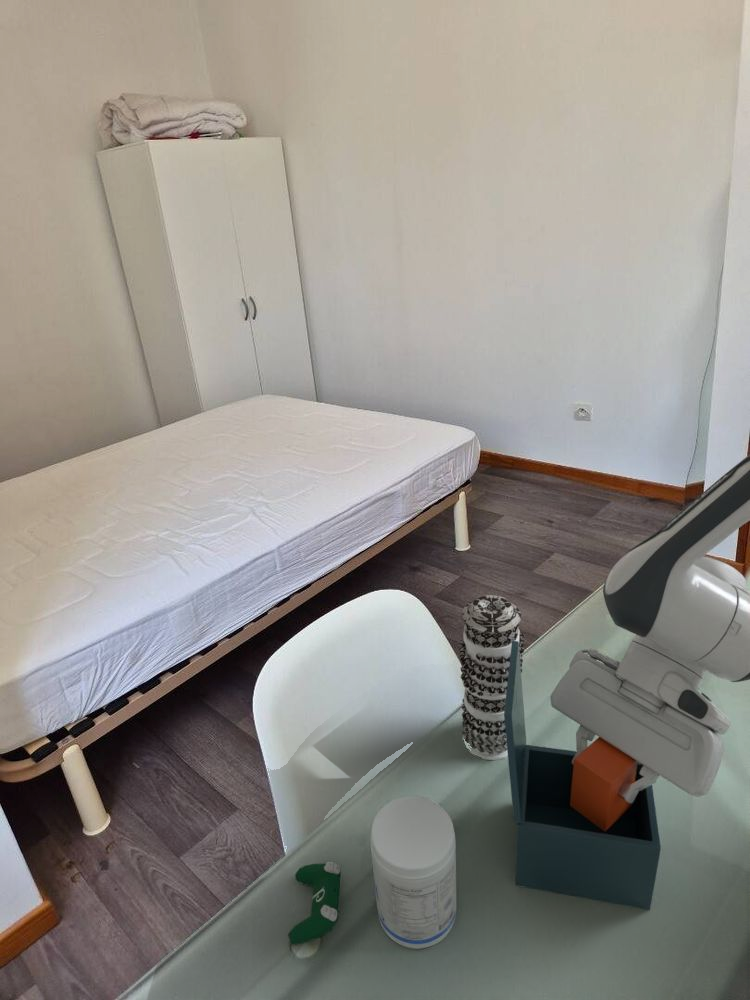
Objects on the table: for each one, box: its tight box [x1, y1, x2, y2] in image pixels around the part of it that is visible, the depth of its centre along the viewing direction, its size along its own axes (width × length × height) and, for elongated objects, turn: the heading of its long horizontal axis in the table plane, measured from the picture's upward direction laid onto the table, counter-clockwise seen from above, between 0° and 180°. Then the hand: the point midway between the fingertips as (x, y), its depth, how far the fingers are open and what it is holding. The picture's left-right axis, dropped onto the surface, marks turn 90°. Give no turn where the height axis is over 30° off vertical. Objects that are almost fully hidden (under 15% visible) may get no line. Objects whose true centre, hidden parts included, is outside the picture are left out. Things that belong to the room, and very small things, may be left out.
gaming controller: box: [287, 861, 342, 945], centre depth 83 cm, size 9×4×6 cm
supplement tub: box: [369, 795, 457, 950], centre depth 79 cm, size 10×10×15 cm
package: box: [570, 736, 638, 831], centre depth 83 cm, size 5×6×8 cm
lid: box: [504, 641, 527, 824], centre depth 82 cm, size 16×13×1 cm
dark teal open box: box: [514, 744, 662, 911], centre depth 86 cm, size 16×13×11 cm
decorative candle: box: [458, 594, 525, 761], centre depth 100 cm, size 9×9×25 cm
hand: (600, 783), depth 82 cm, fingers closed on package, 5 cm apart
